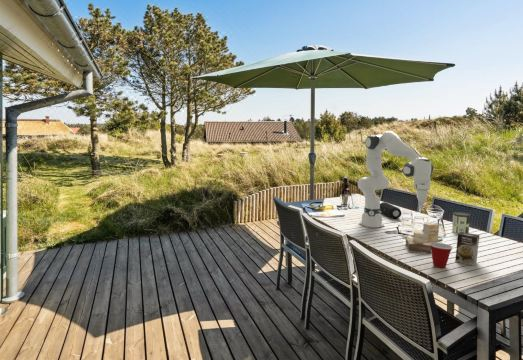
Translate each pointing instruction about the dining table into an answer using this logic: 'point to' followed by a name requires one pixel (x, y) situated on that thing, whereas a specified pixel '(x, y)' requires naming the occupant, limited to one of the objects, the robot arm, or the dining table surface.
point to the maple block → (418, 236)
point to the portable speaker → (390, 210)
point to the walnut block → (418, 245)
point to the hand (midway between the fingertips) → (420, 206)
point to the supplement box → (431, 232)
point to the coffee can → (460, 222)
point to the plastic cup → (440, 254)
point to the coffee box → (467, 248)
